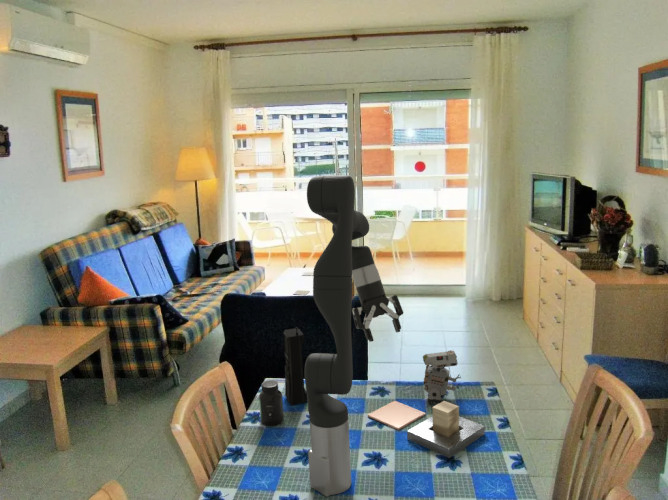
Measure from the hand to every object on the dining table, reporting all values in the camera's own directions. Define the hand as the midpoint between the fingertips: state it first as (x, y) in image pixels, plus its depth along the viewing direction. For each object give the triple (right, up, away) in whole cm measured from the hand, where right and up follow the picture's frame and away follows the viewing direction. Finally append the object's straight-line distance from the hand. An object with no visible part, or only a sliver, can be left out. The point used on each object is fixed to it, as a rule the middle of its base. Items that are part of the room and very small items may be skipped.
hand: (385, 336), depth 171 cm
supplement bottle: (-33, -26, +6) cm, 43 cm away
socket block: (+16, -26, -7) cm, 32 cm away
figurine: (+19, -22, +16) cm, 33 cm away
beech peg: (+16, -26, -7) cm, 32 cm away
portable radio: (-27, -23, +20) cm, 41 cm away
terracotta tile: (+4, -24, +6) cm, 25 cm away
